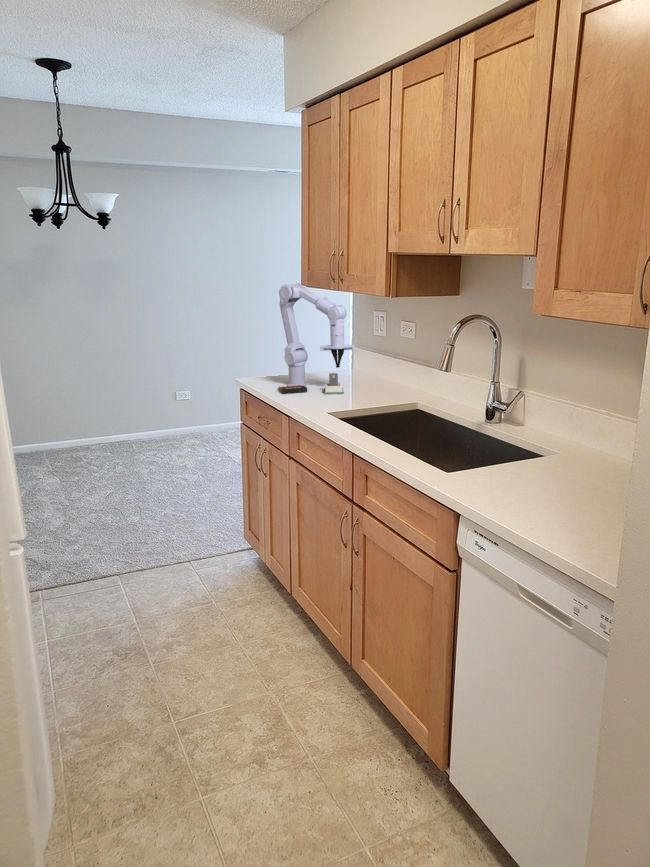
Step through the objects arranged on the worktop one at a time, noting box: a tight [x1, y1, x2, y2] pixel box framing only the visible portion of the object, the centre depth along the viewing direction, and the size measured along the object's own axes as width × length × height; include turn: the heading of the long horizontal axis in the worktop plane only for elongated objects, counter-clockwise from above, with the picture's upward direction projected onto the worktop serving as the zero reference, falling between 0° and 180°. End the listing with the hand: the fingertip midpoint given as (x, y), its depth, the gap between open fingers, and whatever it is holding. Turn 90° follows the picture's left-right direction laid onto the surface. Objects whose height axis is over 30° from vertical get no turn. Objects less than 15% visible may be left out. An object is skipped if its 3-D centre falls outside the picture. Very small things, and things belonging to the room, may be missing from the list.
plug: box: [328, 372, 339, 386], centre depth 279 cm, size 4×4×7 cm
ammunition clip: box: [277, 385, 308, 395], centre depth 284 cm, size 11×2×12 cm
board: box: [323, 382, 345, 395], centre depth 280 cm, size 10×8×3 cm
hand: (337, 367), depth 280 cm, fingers closed
